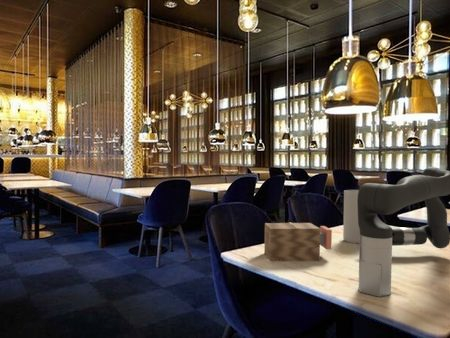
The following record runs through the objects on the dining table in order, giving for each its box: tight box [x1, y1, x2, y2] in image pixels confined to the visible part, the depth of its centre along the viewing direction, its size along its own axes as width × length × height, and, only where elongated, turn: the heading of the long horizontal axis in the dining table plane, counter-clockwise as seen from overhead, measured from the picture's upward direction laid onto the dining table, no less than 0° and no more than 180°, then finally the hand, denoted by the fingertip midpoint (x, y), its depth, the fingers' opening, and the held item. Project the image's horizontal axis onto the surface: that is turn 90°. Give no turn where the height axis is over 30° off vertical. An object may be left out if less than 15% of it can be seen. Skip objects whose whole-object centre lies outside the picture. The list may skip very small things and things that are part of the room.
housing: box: [264, 221, 321, 262], centre depth 143 cm, size 20×12×13 cm, turn 94°
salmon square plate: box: [319, 225, 333, 250], centre depth 144 cm, size 20×8×8 cm, turn 94°
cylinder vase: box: [342, 189, 360, 245], centre depth 172 cm, size 12×12×25 cm
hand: (360, 236), depth 145 cm, fingers closed
